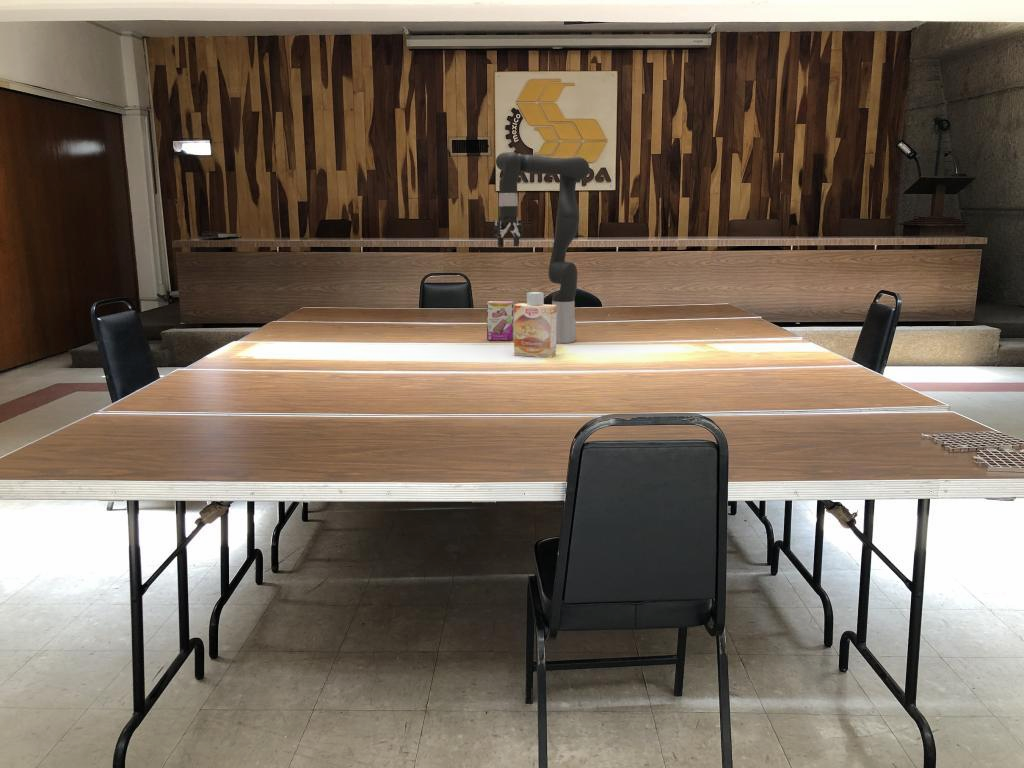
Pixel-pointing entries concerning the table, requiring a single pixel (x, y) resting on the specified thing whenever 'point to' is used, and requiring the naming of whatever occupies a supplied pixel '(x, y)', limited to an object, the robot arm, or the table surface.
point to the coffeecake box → (535, 330)
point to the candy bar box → (500, 320)
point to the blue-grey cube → (535, 298)
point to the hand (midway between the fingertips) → (508, 246)
